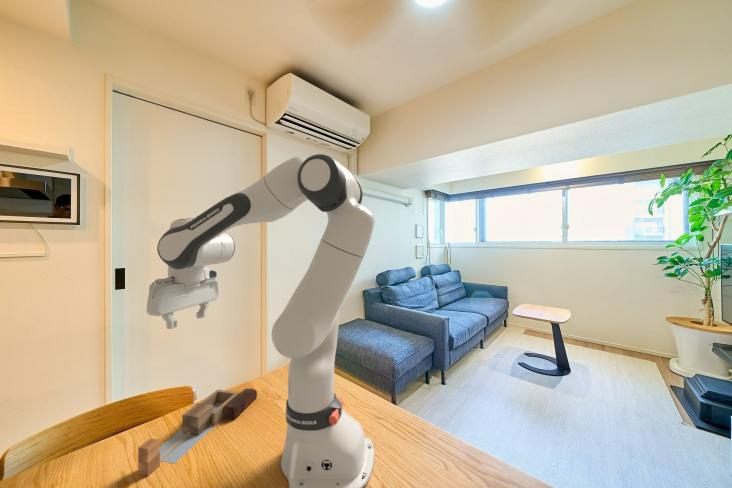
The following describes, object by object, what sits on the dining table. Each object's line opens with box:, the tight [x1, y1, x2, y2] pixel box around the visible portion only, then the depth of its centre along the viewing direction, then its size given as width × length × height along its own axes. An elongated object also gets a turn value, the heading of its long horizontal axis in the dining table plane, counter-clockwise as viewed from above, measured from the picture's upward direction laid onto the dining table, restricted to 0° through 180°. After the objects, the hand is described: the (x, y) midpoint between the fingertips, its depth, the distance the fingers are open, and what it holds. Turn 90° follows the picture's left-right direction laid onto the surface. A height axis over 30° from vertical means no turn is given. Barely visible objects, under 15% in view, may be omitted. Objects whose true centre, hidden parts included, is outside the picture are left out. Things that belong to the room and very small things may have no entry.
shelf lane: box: [160, 388, 240, 464], centre depth 69 cm, size 8×22×4 cm, turn 169°
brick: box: [222, 387, 258, 421], centre depth 77 cm, size 11×4×5 cm, turn 169°
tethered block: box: [137, 402, 213, 477], centre depth 63 cm, size 5×17×6 cm, turn 169°
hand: (187, 322), depth 72 cm, fingers open, 8 cm apart
